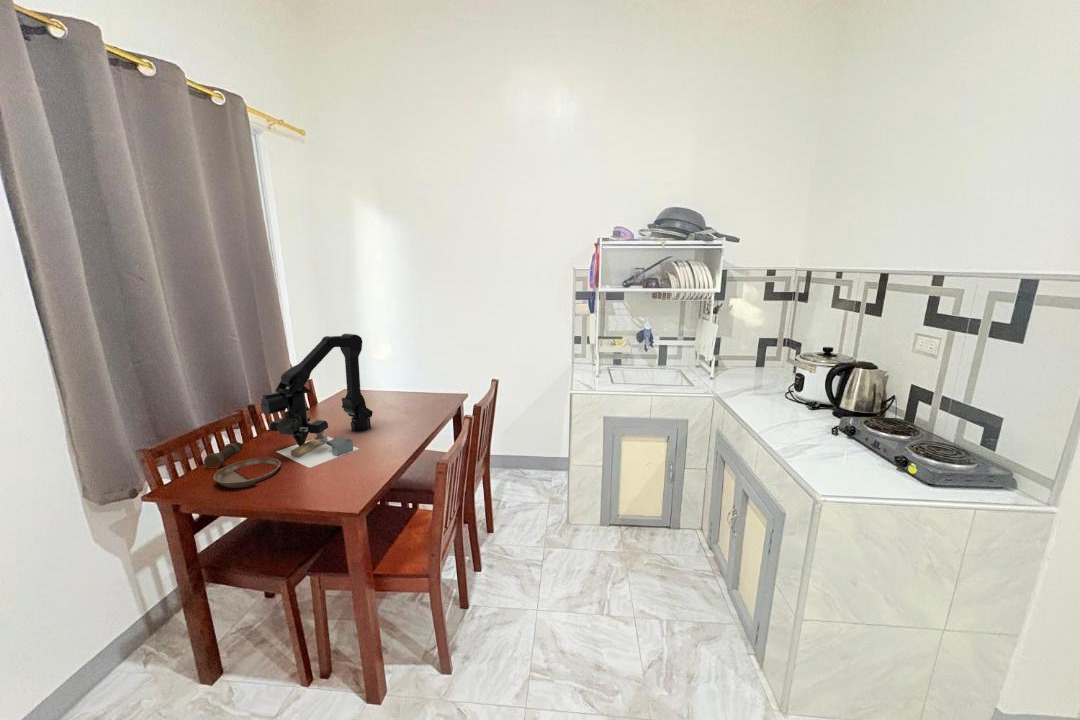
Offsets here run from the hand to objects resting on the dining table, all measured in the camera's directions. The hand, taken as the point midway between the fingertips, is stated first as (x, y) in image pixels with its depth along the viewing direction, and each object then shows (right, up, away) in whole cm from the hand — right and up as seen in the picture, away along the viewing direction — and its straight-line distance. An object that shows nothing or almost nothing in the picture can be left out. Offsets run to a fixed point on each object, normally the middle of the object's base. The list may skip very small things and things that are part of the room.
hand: (301, 448), depth 156 cm
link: (+3, 0, +1) cm, 3 cm away
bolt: (-24, -3, -4) cm, 24 cm away
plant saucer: (-7, -6, -17) cm, 20 cm away
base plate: (+6, -2, 0) cm, 6 cm away
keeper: (+14, -1, -2) cm, 15 cm away
